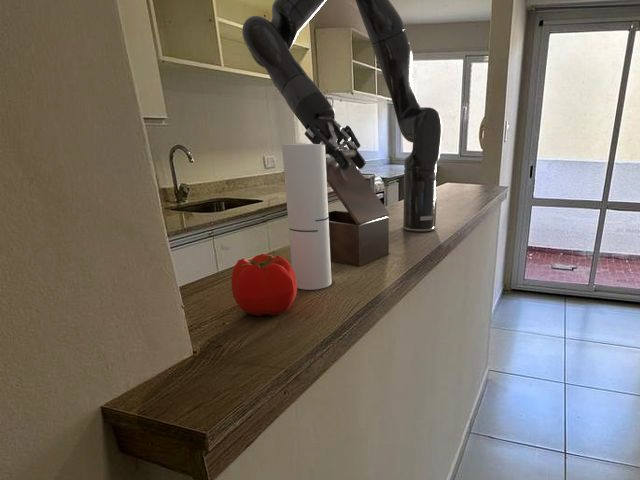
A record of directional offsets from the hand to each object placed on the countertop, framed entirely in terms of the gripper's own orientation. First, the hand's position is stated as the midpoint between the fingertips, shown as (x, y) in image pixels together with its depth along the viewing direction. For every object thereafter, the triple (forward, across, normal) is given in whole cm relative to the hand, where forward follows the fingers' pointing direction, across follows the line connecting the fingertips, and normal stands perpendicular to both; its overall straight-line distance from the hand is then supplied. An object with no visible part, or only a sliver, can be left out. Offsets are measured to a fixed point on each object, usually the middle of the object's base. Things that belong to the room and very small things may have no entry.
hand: (355, 166), depth 96 cm
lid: (+3, 0, +4) cm, 5 cm away
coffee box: (+8, +17, +21) cm, 29 cm away
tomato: (+19, -35, +10) cm, 41 cm away
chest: (+12, 0, +16) cm, 20 cm away
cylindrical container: (+17, -20, +11) cm, 29 cm away
